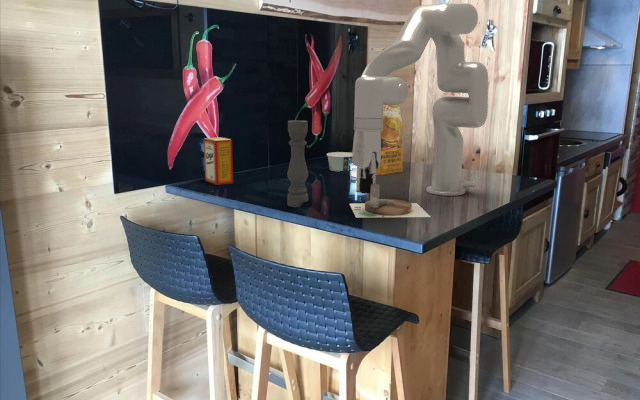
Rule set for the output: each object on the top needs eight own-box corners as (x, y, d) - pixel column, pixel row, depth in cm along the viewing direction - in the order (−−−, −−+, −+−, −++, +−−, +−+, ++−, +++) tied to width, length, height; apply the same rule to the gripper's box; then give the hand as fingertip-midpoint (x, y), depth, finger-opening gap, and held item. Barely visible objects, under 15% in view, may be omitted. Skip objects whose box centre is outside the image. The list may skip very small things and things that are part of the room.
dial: (381, 201, 160) (382, 175, 158) (420, 208, 152) (421, 180, 150) (348, 212, 147) (348, 183, 145) (388, 220, 139) (390, 189, 137)
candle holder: (307, 202, 166) (308, 120, 160) (308, 207, 159) (308, 122, 154) (287, 202, 165) (287, 120, 160) (287, 207, 159) (286, 122, 154)
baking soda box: (205, 180, 199) (203, 137, 195) (221, 178, 202) (220, 136, 199) (216, 185, 191) (215, 139, 188) (233, 183, 195) (231, 138, 191)
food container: (322, 168, 229) (322, 152, 227) (349, 166, 232) (349, 151, 231) (331, 172, 217) (331, 156, 216) (359, 171, 221) (359, 155, 220)
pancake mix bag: (364, 174, 215) (366, 102, 208) (396, 169, 227) (399, 101, 220) (376, 176, 210) (378, 103, 203) (409, 171, 222) (412, 102, 215)
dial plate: (416, 208, 160) (416, 202, 159) (430, 222, 144) (430, 216, 144) (349, 208, 158) (349, 202, 158) (355, 222, 143) (356, 216, 142)
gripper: (345, 122, 149) (344, 188, 153) (364, 127, 135) (362, 198, 139) (371, 122, 151) (369, 187, 155) (392, 127, 137) (389, 197, 141)
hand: (365, 192), depth 147 cm, fingers closed
